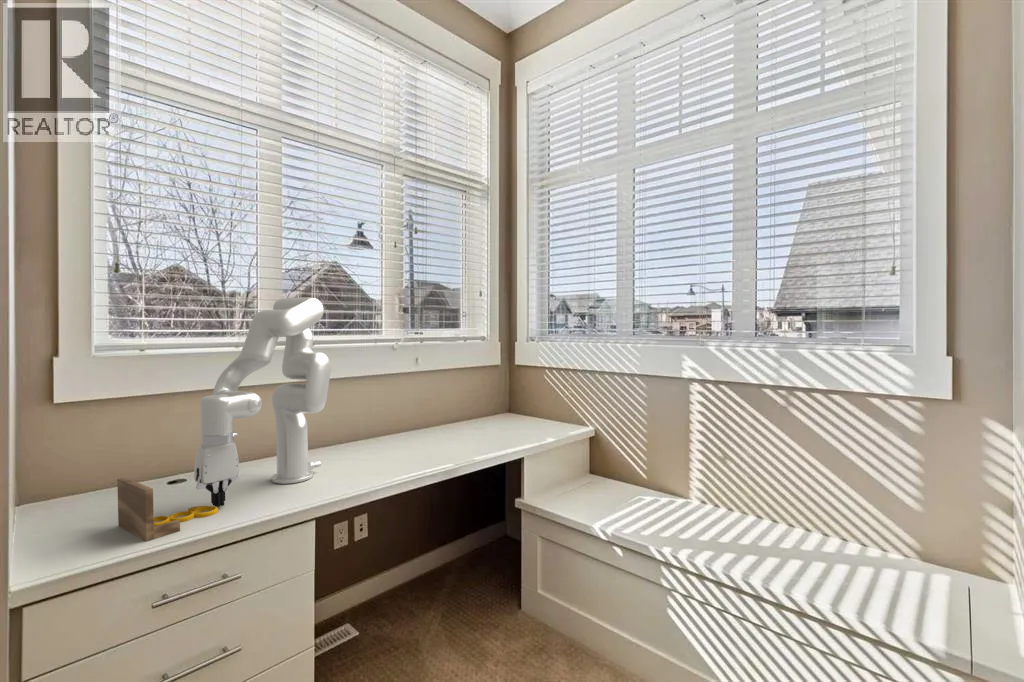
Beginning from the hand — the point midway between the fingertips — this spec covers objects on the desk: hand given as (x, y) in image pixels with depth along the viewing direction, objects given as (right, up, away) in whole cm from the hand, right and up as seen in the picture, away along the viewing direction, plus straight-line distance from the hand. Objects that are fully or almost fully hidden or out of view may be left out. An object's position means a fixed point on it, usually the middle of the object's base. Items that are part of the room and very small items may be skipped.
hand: (218, 505), depth 134 cm
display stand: (-9, -1, -14) cm, 17 cm away
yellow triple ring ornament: (-5, -2, -7) cm, 9 cm away
